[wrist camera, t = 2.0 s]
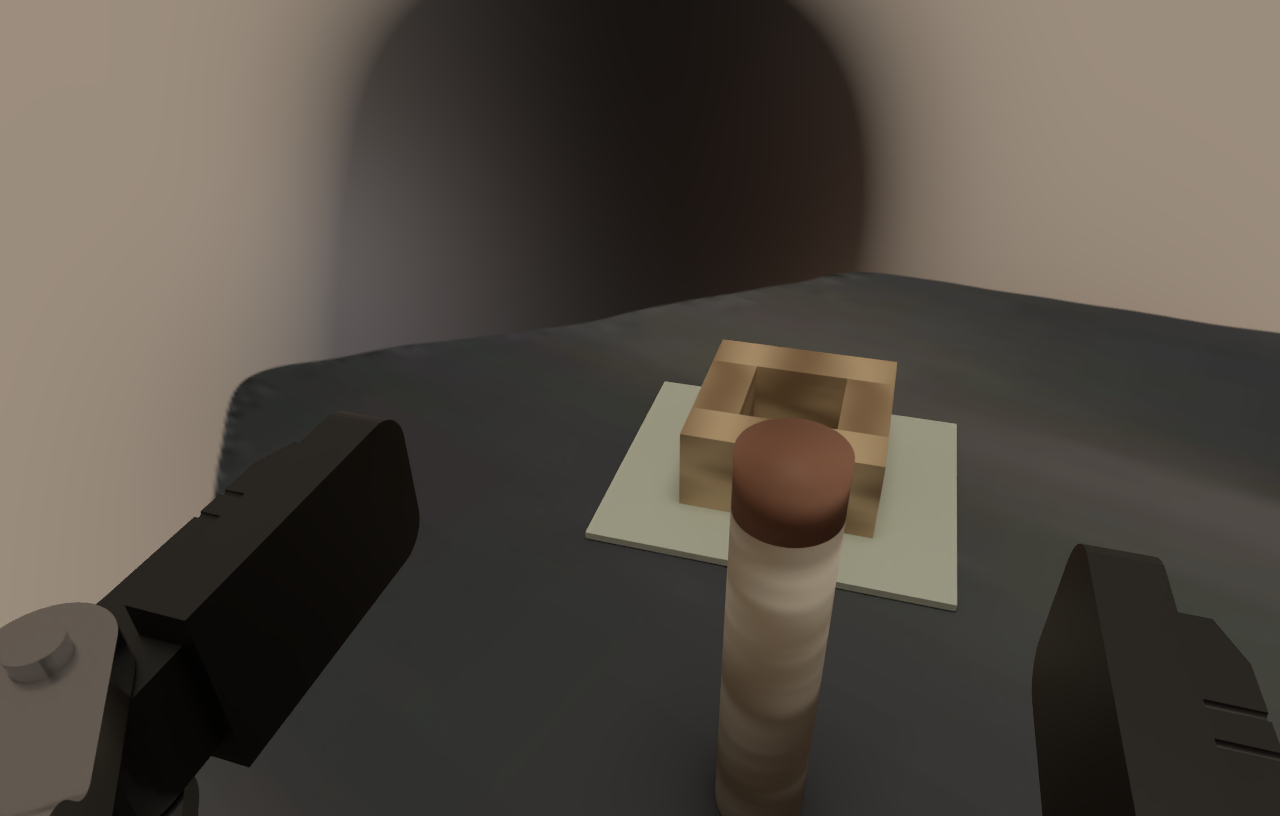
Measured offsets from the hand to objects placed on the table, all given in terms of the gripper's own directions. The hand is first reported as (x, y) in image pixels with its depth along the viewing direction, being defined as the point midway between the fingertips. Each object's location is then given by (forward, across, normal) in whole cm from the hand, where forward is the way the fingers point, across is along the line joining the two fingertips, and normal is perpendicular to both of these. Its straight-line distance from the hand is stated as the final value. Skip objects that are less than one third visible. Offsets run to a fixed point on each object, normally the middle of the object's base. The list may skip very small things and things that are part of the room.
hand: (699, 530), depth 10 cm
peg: (+11, 0, +23) cm, 25 cm away
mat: (+30, +2, +23) cm, 38 cm away
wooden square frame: (+31, +2, +22) cm, 38 cm away
